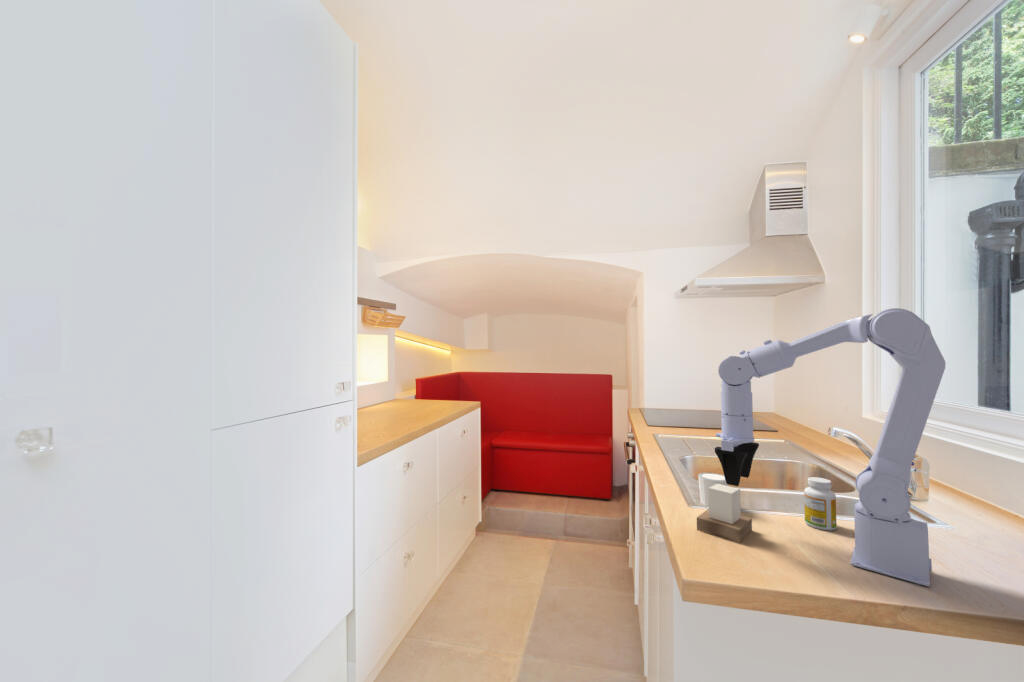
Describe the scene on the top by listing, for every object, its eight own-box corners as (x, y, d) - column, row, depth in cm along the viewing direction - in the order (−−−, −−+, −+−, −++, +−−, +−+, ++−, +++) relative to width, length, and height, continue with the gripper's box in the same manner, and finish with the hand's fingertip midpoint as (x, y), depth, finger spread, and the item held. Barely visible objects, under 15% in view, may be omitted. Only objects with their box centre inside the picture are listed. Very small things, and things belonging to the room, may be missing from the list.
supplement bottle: (825, 521, 88) (824, 476, 88) (843, 531, 82) (842, 484, 83) (799, 520, 88) (798, 475, 89) (815, 530, 83) (814, 483, 83)
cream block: (740, 518, 83) (739, 488, 83) (731, 524, 80) (731, 493, 80) (717, 511, 86) (717, 483, 86) (708, 517, 83) (708, 487, 83)
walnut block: (751, 532, 83) (751, 518, 83) (739, 545, 77) (739, 529, 77) (711, 520, 88) (711, 507, 89) (696, 532, 83) (696, 517, 83)
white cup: (732, 513, 92) (732, 482, 92) (699, 508, 94) (699, 478, 95) (727, 502, 98) (727, 474, 99) (697, 499, 101) (696, 470, 101)
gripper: (726, 409, 91) (727, 469, 91) (704, 416, 81) (705, 484, 80) (761, 412, 86) (763, 476, 86) (743, 419, 76) (745, 492, 75)
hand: (737, 480), depth 83 cm, fingers open, 7 cm apart
